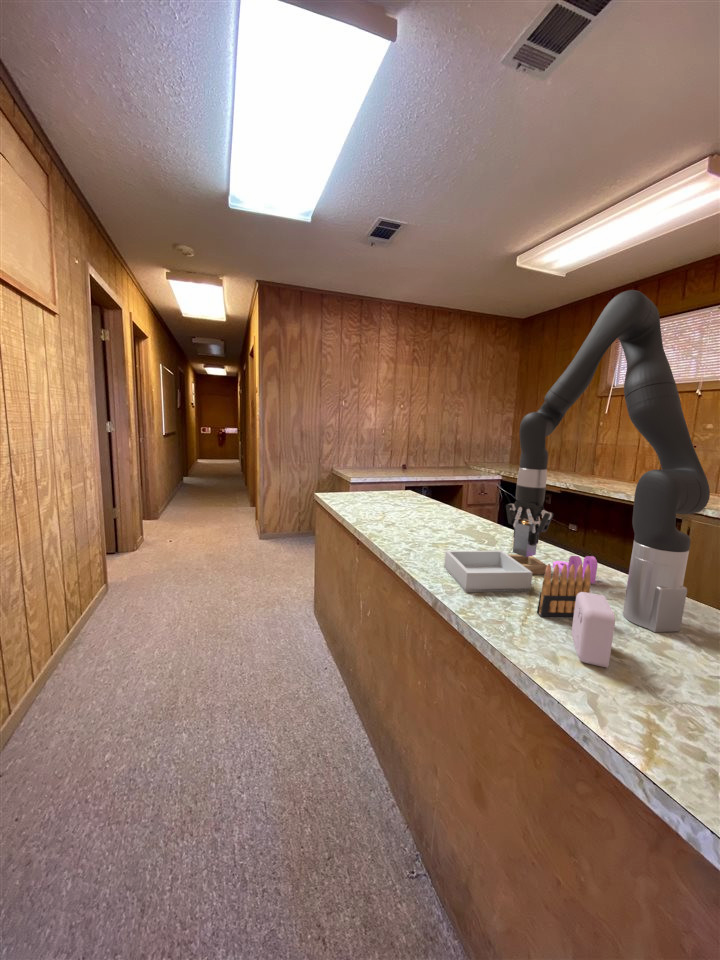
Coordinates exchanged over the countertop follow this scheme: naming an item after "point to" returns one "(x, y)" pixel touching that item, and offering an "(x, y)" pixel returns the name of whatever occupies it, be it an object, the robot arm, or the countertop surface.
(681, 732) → the countertop surface
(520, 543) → the grey upright block
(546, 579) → the ammunition clip
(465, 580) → the bin
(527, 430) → the robot arm
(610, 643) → the electronic device
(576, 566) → the pink humped piece
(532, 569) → the socket block
